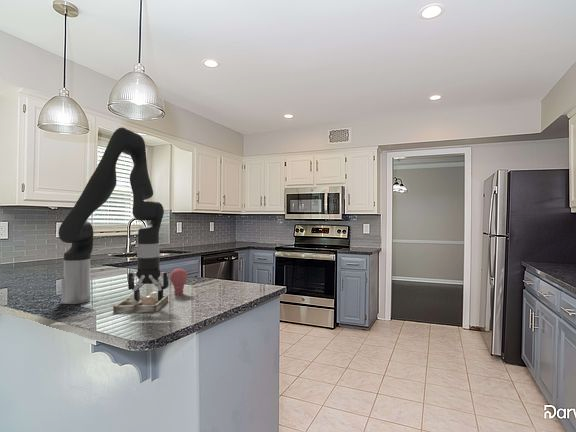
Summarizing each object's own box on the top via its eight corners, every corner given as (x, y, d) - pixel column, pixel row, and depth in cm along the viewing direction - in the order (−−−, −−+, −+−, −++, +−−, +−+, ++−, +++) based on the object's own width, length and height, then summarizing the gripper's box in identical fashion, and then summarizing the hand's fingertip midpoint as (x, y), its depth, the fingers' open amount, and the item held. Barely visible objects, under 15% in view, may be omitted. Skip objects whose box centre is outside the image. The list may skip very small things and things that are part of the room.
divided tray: (113, 314, 120) (113, 306, 120) (129, 303, 135) (129, 296, 134) (156, 313, 121) (156, 305, 121) (167, 303, 136) (167, 295, 136)
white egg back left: (127, 306, 128) (127, 293, 128) (132, 302, 133) (132, 290, 133) (140, 305, 129) (140, 293, 129) (144, 302, 133) (144, 290, 133)
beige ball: (144, 307, 127) (144, 294, 127) (157, 306, 127) (157, 294, 127) (139, 310, 122) (139, 297, 122) (153, 310, 122) (153, 297, 122)
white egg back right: (146, 305, 129) (146, 293, 129) (150, 302, 134) (150, 290, 134) (159, 305, 129) (159, 292, 129) (163, 302, 134) (162, 289, 134)
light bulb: (182, 298, 143) (182, 270, 143) (166, 297, 144) (166, 269, 144) (190, 294, 150) (190, 267, 149) (175, 294, 151) (175, 267, 151)
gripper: (171, 254, 129) (171, 297, 129) (132, 254, 128) (132, 298, 128) (165, 256, 121) (165, 302, 121) (124, 257, 120) (124, 303, 120)
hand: (148, 300), depth 124 cm, fingers open, 7 cm apart
